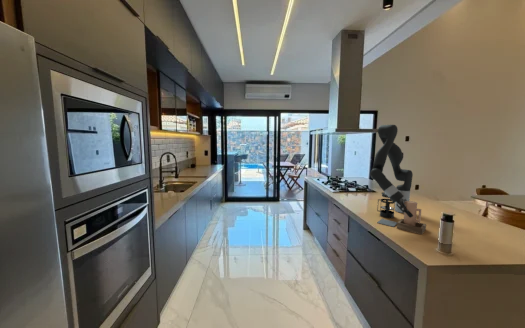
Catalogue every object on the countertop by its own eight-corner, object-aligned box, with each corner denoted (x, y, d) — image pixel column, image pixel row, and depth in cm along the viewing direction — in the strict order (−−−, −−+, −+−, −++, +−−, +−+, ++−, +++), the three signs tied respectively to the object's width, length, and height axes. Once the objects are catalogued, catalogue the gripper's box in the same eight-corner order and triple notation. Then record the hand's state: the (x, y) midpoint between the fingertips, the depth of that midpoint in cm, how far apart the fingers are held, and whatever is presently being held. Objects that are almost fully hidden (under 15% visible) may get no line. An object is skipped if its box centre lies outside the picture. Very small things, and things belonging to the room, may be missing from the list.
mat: (382, 219, 158) (382, 218, 158) (398, 223, 151) (398, 222, 151) (377, 223, 151) (377, 222, 151) (393, 227, 144) (393, 226, 144)
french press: (394, 215, 168) (396, 184, 165) (395, 219, 159) (398, 187, 157) (376, 213, 172) (378, 183, 170) (377, 216, 164) (379, 185, 161)
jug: (404, 225, 147) (406, 200, 145) (420, 229, 141) (422, 203, 139) (401, 228, 143) (403, 202, 141) (418, 232, 137) (420, 205, 135)
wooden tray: (401, 223, 150) (401, 218, 150) (425, 229, 141) (426, 224, 141) (396, 228, 143) (397, 222, 142) (422, 234, 133) (422, 228, 133)
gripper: (395, 192, 140) (415, 215, 133) (401, 188, 150) (421, 209, 143) (385, 198, 145) (405, 221, 138) (392, 195, 155) (410, 215, 148)
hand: (413, 215), depth 141 cm, fingers closed on jug, 6 cm apart
